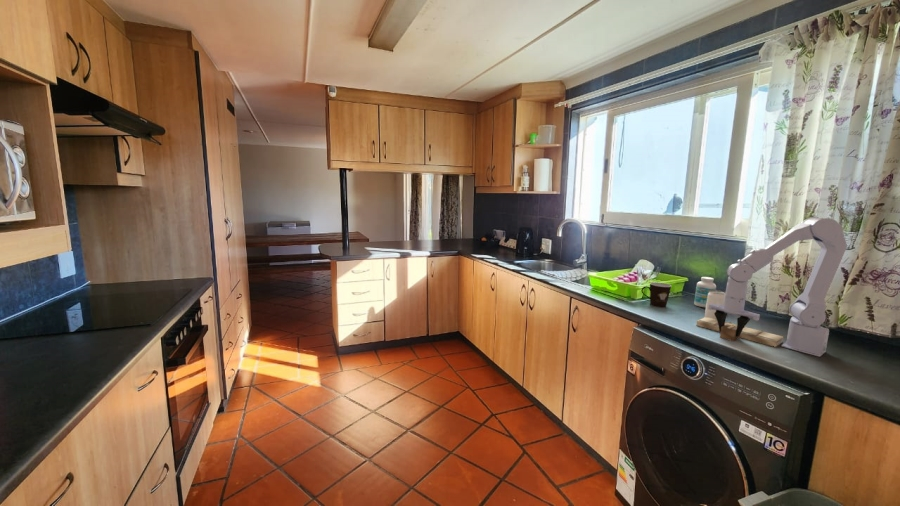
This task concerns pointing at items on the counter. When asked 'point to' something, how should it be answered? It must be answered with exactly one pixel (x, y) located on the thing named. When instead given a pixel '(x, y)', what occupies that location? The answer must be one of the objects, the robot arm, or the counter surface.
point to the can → (714, 302)
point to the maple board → (744, 332)
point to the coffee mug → (658, 294)
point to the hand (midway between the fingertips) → (729, 333)
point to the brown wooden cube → (728, 332)
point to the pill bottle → (703, 291)
